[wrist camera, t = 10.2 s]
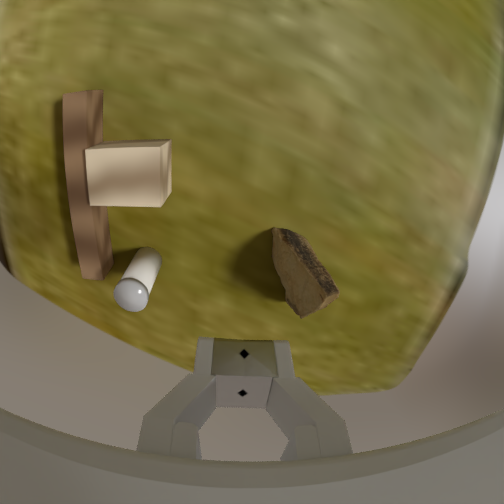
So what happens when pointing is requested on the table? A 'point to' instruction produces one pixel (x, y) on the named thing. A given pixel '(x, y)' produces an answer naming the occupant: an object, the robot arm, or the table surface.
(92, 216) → the brown wooden bar
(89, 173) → the maple block
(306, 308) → the rock
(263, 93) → the table surface
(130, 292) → the salt shaker
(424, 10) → the table surface
